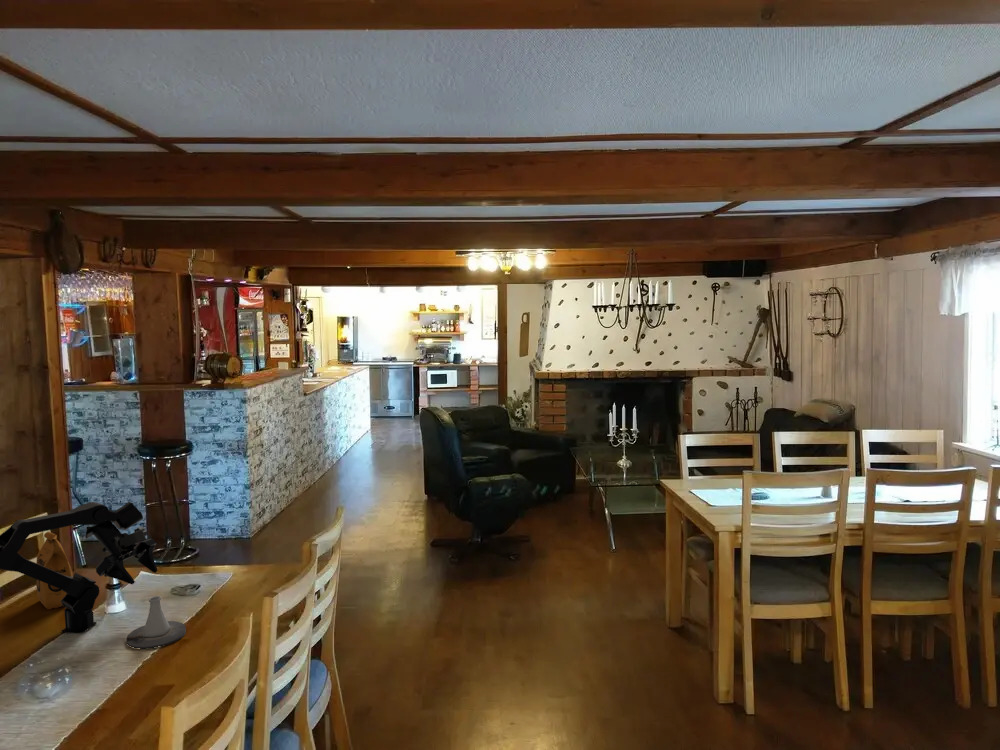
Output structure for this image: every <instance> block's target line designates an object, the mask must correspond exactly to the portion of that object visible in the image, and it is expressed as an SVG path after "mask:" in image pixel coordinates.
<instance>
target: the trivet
mask: <svg viewBox="0 0 1000 750" xmlns="http://www.w3.org/2000/svg"><path fill="white" fill-rule="evenodd" d="M167 622H168V623H169V626H170V631H168V632H167V633H166V634H164V635H160V636H155V637H143V631H144V628H145V625H146V624H145V625H143V626H140V627H137V628H135V629H134V630H132V631H131V632H129V634H127V636H126V645H127V644H128V645H129V646H131V647H134V648H140V649H139V650H147V649H146V648H153V649H155V648H154V647H158V646H163V645H166V646H169V645H172V644H173V643H176V642H177V641H179V640H181V639H182V638H184V636H185V635H186V633H187V632H186V631H187V627H186V625H185V624H184V623H183V622H182V621H175V620H167ZM171 643H172V644H171ZM168 644H169V645H168ZM128 645H127V646H128ZM129 646H128V647H129ZM131 647H130V648H131ZM163 647H164V646H163ZM134 648H133V649H134Z"/></svg>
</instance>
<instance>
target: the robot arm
mask: <svg viewBox="0 0 1000 750" xmlns="http://www.w3.org/2000/svg"><path fill="white" fill-rule="evenodd" d="M143 519H144V517H143V513H142V512H141V511H140V510H139V509H138V507H136V506H135V505H134V503H133V502H131V501H128V502H126V503H124V505H123V506H121V507H120V508H118V509H115V510H111V509H109V508H108V507H107V506H106V505H105V504H103V503H98V502H95V501H90V502H86V503H84V504H81V505H78V506H75V508H73V509H70V510H68V511H67V510H66V511H62V512H57V513H52V514H46V515H41V516H37V517H32V518H31V517H30V518H27V519H22V518H21V519H18V520H16V521H14V522H13V523H12V524H11V525H10V526H9V527H8V529H6V530H5V531H4V532H2V533H1V534H0V570H3V571H8V572H17V573H20V574H22V575H25V576H26V577H27V576H28V577H29V578H33V579H35V580H36V579H37V580H39V581H42V582H44V583H47V584H49V585H52V586H54V587H57V588H59V589H61V590H63V591H64V592H65V593H67V594H66V595H65V597H64V598H63V599H62V600H61V603H62V605H63V606H62V607H64V608H65V609H64V611H63V612H64V620H65V621H64V624H65V628H63V629H61V633H64V634H65V633H66V634H83V633H85V632H86V631H88V630H89V629H91V628H92V627H94V626H96V625H97V624H96V623H97V621H95V619H94V611H93V609H94V605H95V603H96V600H97V598H98V597H99V594H100V587H99V585H98V584H96V583H97V581H95V580H94V579H92V578H90V577H88V576H83V575H81V574H79V573H77V572H76V571H75V573H74V574H73V577H70V576H65V575H63V574H61V573H58V572H56V571H54V570H51V569H49V568H46V567H44V566H42V565H39V564H37V563H36V562H34V561H32V560H29V559H27V558H25V557H24V556H23V555H21V554H20V553H19V552H20V550H21V549H22V547H23V545H24V544H25V542H26V540H27V538H28V537H29V536H30V535H33V534H38V533H43V532H48V531H52V530H57V529H61V528H66V527H70V526H81V525H82V526H86V528H85V529H86V531H85V539H89V538H90V537H92V536H94V537H95V538H96V539H97V540H98V542H99V543H100V544H101V545H102V546H103V548H102V552H103V553H106V552H107V553H109V554H110V555H108V556H105V557H104V558H103V559H101V561H100V562H99V563H98V564H97V566H96V567H95V573H96V574H97V575H98V576H99V577H103V576H104V577H105V578H106V577H109V578H112V579H115V580H119V581H121V582H124V583H127V584H130V585H134V584H135V583H136V581H135V580H134V578H133V576H132V575H131V574H130V573H129V571H128V570H127V569H126V568H125V566H124V564H125V563H124V561H126V560H129V559H131V558H133V557H134V558H136V559H137V562H138V563H140V564H141V565H142V566H144V567H146V568H147V569H148V570H149V571H150V572H152V573H154V574H156V573H157V572H158V568H157V564H156V561H155V558H154V553H153V552H154V549H155V548H156V545H157V542H156V541H155V539H153V538H146V536H148V531H147V529H146V528H145V527H144V526H139V527H137V528H134V532H132V533H127V532H124V533H122V532H121V531H120V530H123V531H127V530H129V528H131V527H133V526H134V525H137V524H138V523H139V522H140V521H143ZM139 542H140V543H139ZM95 624H96V625H95ZM93 625H94V626H93ZM90 627H91V628H90ZM87 629H88V630H87Z"/></svg>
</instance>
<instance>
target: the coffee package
mask: <svg viewBox="0 0 1000 750" xmlns="http://www.w3.org/2000/svg"><path fill="white" fill-rule="evenodd" d="M57 536H58V535H57V534H55V533H53V532H51V531H50V530H48V531H45V533H44V535H43V537H44V538H45V541H44V543H43V544H42V545H41V547H40V549H39V551H38V553H37V555H36V562H35V563H37V564H39V565H42V566H44V567H46V568H49V569H51V570H54V571H56V572H58V573H61V574H63V575H65V576H70V577H73V576H74V574H73V570H72V567H71V564H70V562H69V560H68V557H67V554H66V552H65V550H64V547H63V546H62V544H61V542H60V541H59V540H58V537H57ZM35 584H36V592H37V596H38V600H39V601H40V602H41V604H42V605H43V606H44V607H45V609H46V610H52V609H54V608H55V609H57V608H60V607H63V605H62V603H61V600H62V599H63V598H64V597H65V595H66V594H67V593H65V592H64V591H63V590H61V589H59V588H57V587H54V586H52V585H49V584H47V583H44V582H42V581H39V580H37V579H35Z"/></svg>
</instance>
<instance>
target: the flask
mask: <svg viewBox="0 0 1000 750" xmlns="http://www.w3.org/2000/svg"><path fill="white" fill-rule="evenodd" d="M161 600H162V596H161V595H154V596H151V597H150V598H148V602H149V612H148V614H147V615H148V616H147V618H146V622H145V628H144V631H143V637H155V636H160V635H164V634H166V633H167V632H168V631H170V626H169V623H168V622H167V621H168V620H167V617H166V616H165V613H164V611H163V609H162V605H161Z"/></svg>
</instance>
